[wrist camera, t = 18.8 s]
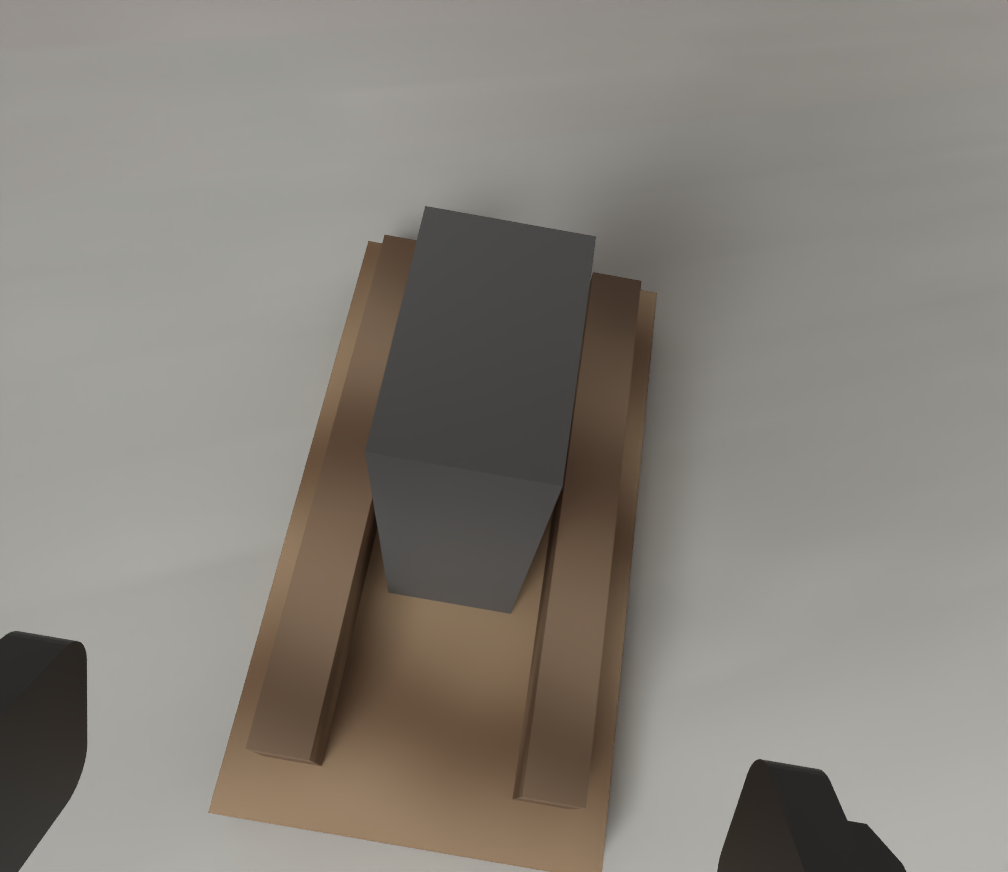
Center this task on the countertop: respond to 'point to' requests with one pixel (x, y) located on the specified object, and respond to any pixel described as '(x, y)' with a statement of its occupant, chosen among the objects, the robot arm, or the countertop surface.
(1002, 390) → the countertop surface
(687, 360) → the countertop surface
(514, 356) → the dark grey cuboid
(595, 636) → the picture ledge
